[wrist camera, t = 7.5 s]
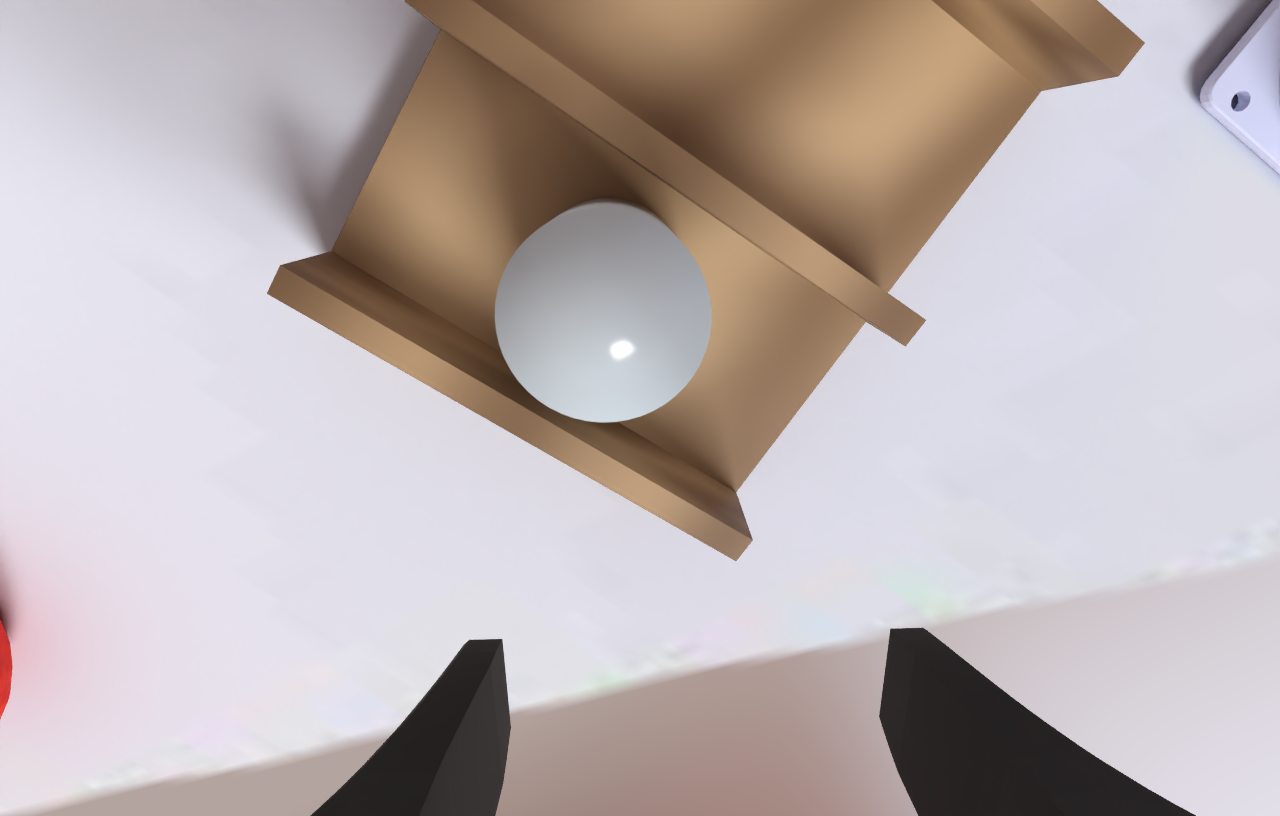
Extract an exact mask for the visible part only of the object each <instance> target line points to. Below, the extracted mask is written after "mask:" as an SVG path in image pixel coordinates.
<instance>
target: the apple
mask: <svg viewBox="0 0 1280 816" xmlns="http://www.w3.org/2000/svg"><path fill="white" fill-rule="evenodd" d="M11 677H12V657H11V648H10V642H9V639H8V636H7V633H6V631H5V629H4V627H3V625H2V622H1V620H0V719H1V716H2V714H3V712H4V709H5V707H6V704H7V702H8V699H9V695H10V689H11Z"/></svg>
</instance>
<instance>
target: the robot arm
mask: <svg viewBox="0 0 1280 816" xmlns="http://www.w3.org/2000/svg"><path fill="white" fill-rule="evenodd" d="M1235 94H1236V95H1237V96H1238V104H1237V106H1236V107H1235V109H1232V107H1231V100H1232V98H1233V97H1234V95H1235ZM1200 101H1201V104H1202V105H1203V107H1204V108H1205V109H1206V110H1207V111H1208V112H1209V113H1210V114H1212V115H1213V116H1214V117H1215V118H1216V119H1217V120H1218V121H1220V122H1221V123H1222V124H1223V125H1224V126H1225V127H1226V128H1228V129H1229V130H1230V131H1231V132H1232V133H1233V134H1234V135H1236V136H1237V137H1238V138H1239V139H1240V140H1241V141H1242V142H1243V143H1245V144H1246V145H1247V146H1248V147H1249V148H1250V149H1251V150H1253V151H1254V152H1255V153H1256V154H1257V155H1258V156H1259V157H1261V158H1262V159H1263V160H1264V161H1265V162H1266V163H1267V164H1269V165H1270V166H1271V167H1272V168H1273V169H1274V170H1275V171H1276V172H1278V173H1279V174H1280V0H1272V2H1271V3H1270V4H1269V5H1268V6H1267V8H1266V9H1265V10H1264V11H1263V12H1262V14H1261V15H1260V16H1259V17H1258V18H1257V20H1256V21H1255V22H1254V23H1253V25H1252V26H1251V27H1250V28H1249V29H1248V31H1247V32H1246V33H1245V34H1244V35H1243V37H1242V38H1241V39H1240V40H1239V41H1238V43H1237V44H1236V45H1235V46H1234V48H1233V49H1232V50H1231V51H1230V52H1229V54H1228V55H1227V56H1226V57H1225V58H1224V60H1223V61H1222V62H1221V63H1220V64H1219V66H1218V67H1217V68H1216V69H1215V70H1214V72H1213V73H1212V74H1211V75H1210V77H1209V78H1208V79H1207V80H1206V82H1205V83H1204V85H1203V87H1202V88H1201V93H1200ZM879 717H880V720H881V723H882V727H883V730H884V733H885V736H886V739H887V742H888V745H889V748H890V751H891V754H892V757H893V759H894V762H895V765H896V768H897V770H898V773H899V775H900V777H901V779H902V782H903V784H904V786H905V788H906V790H907V792H908V795H909V797H910V799H911V801H912V803H913V805H914V807H915V809H916V811H917V814H918V816H1196V815H1194V814H1192V813H1190V812H1188V811H1186V810H1184V809H1183V808H1181V807H1179V806H1177V805H1175V804H1173V803H1171V802H1170V801H1168V800H1166V799H1164V798H1163V797H1161V796H1159V795H1158V794H1156V793H1154V792H1152V791H1151V790H1149V789H1147V788H1145V787H1144V786H1142V785H1141V784H1139V783H1137V782H1136V781H1134V780H1132V779H1131V778H1129V777H1128V776H1126V775H1124V774H1123V773H1121V772H1119V771H1118V770H1116V769H1115V768H1113V767H1111V766H1110V765H1108V764H1106V763H1105V762H1103V761H1102V760H1100V759H1099V758H1097V757H1095V756H1094V755H1092V754H1091V753H1089V752H1088V751H1086V750H1085V749H1083V748H1082V747H1080V746H1079V745H1077V744H1076V743H1075V742H1073V741H1072V740H1070V739H1069V738H1067V737H1066V736H1064V735H1063V734H1062V733H1060V732H1059V731H1057V730H1056V729H1054V728H1053V727H1051V726H1050V725H1049V724H1047V723H1046V722H1044V721H1043V720H1042V719H1040V718H1039V717H1038V716H1036V715H1035V714H1033V713H1032V712H1031V711H1029V710H1028V709H1027V708H1025V707H1024V706H1023V705H1021V704H1020V703H1019V702H1017V701H1016V700H1015V699H1013V698H1012V697H1011V696H1009V695H1008V694H1007V693H1006V692H1004V691H1003V690H1002V689H1000V688H999V687H998V686H997V685H995V684H994V683H993V682H991V681H990V680H989V679H988V678H986V677H985V676H984V675H982V674H981V673H980V672H979V671H978V670H976V669H975V668H974V667H973V666H971V665H970V664H969V663H968V662H966V661H965V660H964V659H962V658H961V657H960V656H959V655H958V654H956V653H955V652H954V651H952V650H951V649H950V648H949V647H947V646H946V645H945V644H944V643H942V642H941V641H940V640H939V639H937V638H936V637H935V636H933V635H932V634H931V633H929V632H928V631H927V630H925V629H924V628H902V629H890V637H889V645H888V653H887V660H886V668H885V676H884V684H883V692H882V700H881V708H880V715H879ZM510 729H511V725H510V714H509V704H508V694H507V683H506V673H505V663H504V652H503V642H502V639H488V640H469V641H468V642H467V643H466V644H465V645H463V647H462V648H461V649H460V651H459V652H458V653H457V655H456V656H455V657H454V659H453V660H452V661H451V663H450V664H449V665H448V667H447V668H446V669H445V671H444V672H443V673H442V675H441V676H440V677H439V678H438V680H437V681H436V682H435V684H434V685H433V686H432V687H431V689H430V690H429V691H428V692H427V694H426V695H425V696H424V697H423V698H422V700H421V701H420V702H419V703H418V704H417V706H416V707H415V708H414V709H413V710H412V712H411V713H410V714H409V715H408V716H407V718H406V719H405V720H404V721H403V722H402V724H401V725H400V726H399V727H398V728H397V729H396V730H395V732H394V733H393V734H392V735H391V736H390V737H389V738H388V739H387V740H386V741H385V742H384V743H383V745H382V746H381V747H380V748H379V749H378V750H377V751H376V752H375V753H374V755H372V757H371V758H370V759H369V760H368V761H367V762H366V763H365V764H364V765H363V766H362V767H361V768H360V769H359V770H358V771H357V772H356V773H355V774H354V775H353V776H352V777H351V778H350V779H349V780H348V781H347V782H346V783H345V784H344V785H343V786H342V787H341V788H340V789H339V790H338V791H337V792H336V793H335V794H334V795H332V796H331V797H330V798H329V799H328V800H327V801H326V802H325V803H324V804H323V805H322V806H321V807H320V808H319V809H317V810H316V811H315V812H314V813H313V814H312V815H311V816H495V814H496V810H497V806H498V802H499V798H500V794H501V790H502V786H503V780H504V773H505V766H506V760H507V752H508V744H509V737H510Z"/></svg>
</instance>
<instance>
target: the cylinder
mask: <svg viewBox="0 0 1280 816" xmlns="http://www.w3.org/2000/svg"><path fill="white" fill-rule="evenodd" d="M711 313H712V311H711V303H710V296H709V292H708V288H707V284H706V281H705V279H704V276H703V274H702V272H701V269H700V268H699V266H698V264H697V262H696V261H695V259H694V257H693V256H692V255H691V253H690V252H689V251H688V249H687V248H686V247H685V246H684V244H683V243H682V242H681V241H680V240H679V238H678V237H677V236H676V235H675V234H674V233H673V231H672V230H671V229H670V228H669V227H668V226H667V224H666V223H665V222H664V221H663V220H662V219H661V218H660V217H659V216H657V215H656V214H655V213H653V212H652V211H651V210H649V209H647V208H646V207H644V206H642V205H640V204H638V203H635V202H633V201H629V200H625V199H621V198H612V197H607V198H596V199H590V200H587V201H583V202H580V203H578V204H576V205H574V206H572V207H570V208H568V209H567V210H565V211H564V212H562V213H561V214H559V215H558V216H556V217H555V218H554V219H552V220H551V221H549V222H548V223H546V224H545V225H543V226H542V227H540V228H539V229H537V230H536V231H535V232H534V233H533V234H532V235H530V236H529V237H528V238H527V239H526V240H525V241H524V242H523V243H522V244H521V245H520V247H519V248H518V249H517V250H516V251H515V253H514V254H513V256H512V257H511V259H510V261H509V262H508V264H507V266H506V268H505V270H504V272H503V274H502V277H501V280H500V283H499V287H498V290H497V296H496V302H495V325H496V333H497V337H498V342H499V346H500V348H501V351H502V354H503V356H504V359H505V361H506V362H507V364H508V366H509V368H510V370H511V371H512V373H513V374H514V376H515V377H516V379H517V380H518V381H519V382H520V384H521V385H522V386H523V387H524V388H525V389H526V390H527V391H528V392H529V393H530V394H531V395H532V396H534V397H535V398H536V399H537V400H538V401H540V402H541V403H543V404H544V405H546V406H547V407H549V408H551V409H553V410H555V411H557V412H559V413H561V414H563V415H566V416H569V417H572V418H575V419H580V420H584V421H590V422H618V421H625V420H630V419H633V418H637V417H640V416H643V415H645V414H648V413H650V412H652V411H654V410H656V409H658V408H659V407H661V406H663V405H665V404H666V403H667V402H669V401H670V400H671V399H672V398H674V397H675V396H676V395H677V394H678V393H679V392H680V391H681V390H682V389H683V388H684V387H685V386H686V385H687V384H688V382H689V381H690V380H691V378H692V377H693V376H694V374H695V373H696V371H697V369H698V367H699V366H700V364H701V362H702V359H703V357H704V355H705V352H706V349H707V345H708V342H709V338H710V331H711Z"/></svg>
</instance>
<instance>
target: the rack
mask: <svg viewBox="0 0 1280 816" xmlns="http://www.w3.org/2000/svg"><path fill="white" fill-rule="evenodd" d="M405 2H406V3H407V4H409V5H410V6H411V7H413V8H414V9H415V10H416V11H418V12H419V13H420V14H422V15H423V16H424V17H425V18H427V19H428V20H429V21H431V22H432V23H433V24H435V25H436V26H437V27H438V28H440V29H441V30H440V32H439V34H438V36H437V38H436V40H435V42H434V44H433V46H432V48H431V50H430V52H429V54H428V56H427V58H426V60H425V62H424V64H423V66H422V68H421V70H420V73H419V75H418V77H417V79H416V81H415V83H414V85H413V87H412V89H411V91H410V93H409V95H408V97H407V99H406V101H405V103H404V105H403V107H402V109H401V111H400V113H399V115H398V117H397V119H396V121H395V123H394V125H393V127H392V129H391V131H390V133H389V135H388V137H387V139H386V141H385V144H384V146H383V148H382V150H381V152H380V154H379V156H378V158H377V160H376V162H375V164H374V166H373V168H372V170H371V172H370V174H369V176H368V178H367V180H366V182H365V184H364V186H363V188H362V190H361V192H360V194H359V196H358V198H357V200H356V202H355V204H354V206H353V208H352V210H351V212H350V215H349V217H348V219H347V221H346V223H345V225H344V227H343V229H342V231H341V233H340V235H339V237H338V239H337V241H336V243H335V245H334V247H333V249H332V251H331V252H327V253H324V254H320V255H316V256H313V257H309V258H305V259H302V260H298V261H294V262H291V263H287V264H283V265H280V267H279V269H278V271H277V273H276V275H275V277H274V280H273V282H272V284H271V286H270V288H269V290H268V292H267V294H269V295H270V296H272V297H274V298H276V299H277V300H279V301H281V302H283V303H284V304H286V305H288V306H290V307H291V308H293V309H295V310H297V311H298V312H300V313H302V314H304V315H305V316H307V317H309V318H311V319H312V320H314V321H316V322H318V323H319V324H321V325H323V326H325V327H326V328H328V329H330V330H332V331H333V332H335V333H337V334H339V335H340V336H342V337H344V338H346V339H347V340H349V341H351V342H353V343H354V344H356V345H358V346H360V347H361V348H363V349H365V350H367V351H368V352H370V353H372V354H374V355H375V356H377V357H379V358H381V359H382V360H384V361H386V362H388V363H389V364H391V365H393V366H395V367H397V368H398V369H400V370H402V371H404V372H405V373H407V374H409V375H411V376H412V377H414V378H416V379H418V380H419V381H421V382H423V383H425V384H426V385H428V386H430V387H432V388H433V389H435V390H437V391H439V392H440V393H442V394H444V395H446V396H447V397H449V398H451V399H453V400H454V401H456V402H458V403H460V404H461V405H463V406H465V407H467V408H468V409H470V410H472V411H474V412H475V413H477V414H479V415H481V416H482V417H484V418H486V419H488V420H489V421H491V422H493V423H495V424H496V425H498V426H500V427H502V428H503V429H505V430H507V431H509V432H510V433H512V434H514V435H516V436H517V437H519V438H521V439H523V440H524V441H526V442H528V443H530V444H531V445H533V446H535V447H537V448H538V449H540V450H542V451H544V452H546V453H547V454H549V455H551V456H553V457H554V458H556V459H558V460H560V461H561V462H563V463H565V464H567V465H568V466H570V467H572V468H574V469H575V470H577V471H579V472H581V473H582V474H584V475H586V476H588V477H589V478H591V479H593V480H595V481H596V482H598V483H600V484H602V485H603V486H605V487H607V488H609V489H610V490H612V491H614V492H616V493H617V494H619V495H621V496H623V497H624V498H626V499H628V500H630V501H631V502H633V503H635V504H637V505H638V506H640V507H642V508H644V509H645V510H647V511H649V512H651V513H652V514H654V515H656V516H658V517H659V518H661V519H663V520H665V521H666V522H668V523H670V524H672V525H673V526H675V527H677V528H679V529H680V530H682V531H684V532H686V533H687V534H689V535H691V536H693V537H695V538H696V539H698V540H700V541H702V542H703V543H705V544H707V545H709V546H710V547H712V548H714V549H716V550H717V551H719V552H721V553H723V554H724V555H726V556H728V557H730V558H731V559H733V560H735V561H737V559H738V558H739V557H740V556H741V554H742V553H743V552H744V550H745V549H746V548H747V547H748V545H749V544H750V543H751V542H752V537H751V534H750V531H749V528H748V525H747V522H746V519H745V517H744V514H743V511H742V508H741V505H740V502H739V499H738V496H737V494H736V492H737V490H738V489H739V488H740V486H741V485H742V484H743V482H744V481H745V480H746V478H747V477H748V476H749V474H750V473H751V472H752V471H753V469H754V468H755V467H756V465H757V464H758V463H759V461H760V460H761V459H762V457H763V456H764V455H765V453H766V452H767V451H768V450H769V448H770V447H771V446H772V444H773V443H774V442H775V440H776V439H777V438H778V436H779V435H780V434H781V432H782V431H783V430H784V428H785V427H786V426H787V425H788V423H789V422H790V421H791V419H792V418H793V417H794V415H795V414H796V413H797V411H798V410H799V409H800V407H801V406H802V405H803V404H804V402H805V401H806V400H807V398H808V397H809V396H810V394H811V393H812V392H813V390H814V389H815V388H816V386H817V385H818V384H819V382H820V381H821V380H822V379H823V377H824V376H825V375H826V373H827V372H828V371H829V369H830V368H831V367H832V365H833V364H834V363H835V361H836V360H837V359H838V357H839V356H840V355H841V354H842V352H843V351H844V350H845V348H846V347H847V346H848V344H849V343H850V342H851V340H852V339H853V338H854V336H855V335H856V334H857V333H858V331H859V330H860V329H861V327H862V326H863V325H864V323H865V322H867V323H869V324H870V325H872V326H874V327H875V328H877V329H878V330H880V331H882V332H883V333H885V334H887V335H888V336H890V337H891V338H893V339H895V340H896V341H898V342H899V343H901V344H903V345H904V346H906V345H907V344H908V343H909V341H910V340H911V339H912V337H913V336H914V335H915V334H916V332H917V331H918V330H919V329H920V327H921V326H922V325H923V324H924V322H925V321H926V320H925V319H924V318H922V317H921V316H920V315H918V314H917V313H915V312H914V311H912V310H911V309H910V308H908V307H907V306H905V305H904V304H903V303H901V302H900V301H898V300H897V299H895V298H894V297H893V296H891V295H890V294H888V292H889V290H890V289H891V288H892V287H893V285H894V284H895V283H896V281H897V280H898V279H899V277H900V276H901V275H902V273H903V272H904V271H905V269H906V268H907V267H908V265H909V264H910V263H911V262H912V260H913V259H914V258H915V256H916V255H917V254H918V252H919V251H920V250H921V248H922V247H923V246H924V244H925V243H926V242H927V241H928V239H929V238H930V237H931V235H932V234H933V233H934V231H935V230H936V229H937V227H938V226H939V225H940V223H941V222H942V221H943V219H944V218H945V217H946V216H947V214H948V213H949V212H950V210H951V209H952V208H953V206H954V205H955V204H956V202H957V201H958V200H959V198H960V197H961V196H962V195H963V193H964V192H965V191H966V189H967V188H968V187H969V185H970V184H971V183H972V181H973V180H974V179H975V177H976V176H977V175H978V173H979V172H980V171H981V170H982V168H983V167H984V166H985V164H986V163H987V162H988V160H989V159H990V158H991V156H992V155H993V154H994V152H995V151H996V150H997V148H998V147H999V146H1000V145H1001V143H1002V142H1003V141H1004V139H1005V138H1006V137H1007V135H1008V134H1009V133H1010V131H1011V130H1012V129H1013V127H1014V126H1015V125H1016V124H1017V122H1018V121H1019V120H1020V118H1021V117H1022V116H1023V114H1024V113H1025V112H1026V110H1027V109H1028V108H1029V106H1030V105H1031V104H1032V102H1033V101H1034V100H1035V99H1036V97H1037V96H1038V95H1039V93H1040V92H1041V91H1044V90H1049V89H1055V88H1060V87H1065V86H1070V85H1075V84H1081V83H1086V82H1091V81H1096V80H1101V79H1107V78H1112V77H1117V76H1119V75H1120V74H1121V72H1122V71H1123V70H1124V69H1125V67H1126V66H1127V65H1128V64H1129V62H1130V61H1131V60H1132V59H1133V57H1134V56H1135V55H1136V53H1137V52H1138V51H1139V50H1140V48H1141V47H1142V46H1143V45H1144V43H1145V42H1143V41H1142V40H1141V39H1140V38H1139V37H1138V36H1137V35H1135V34H1134V33H1133V32H1132V31H1131V30H1130V29H1129V28H1128V27H1126V26H1125V25H1124V24H1123V23H1122V22H1121V21H1120V20H1119V19H1117V18H1116V17H1115V16H1114V15H1113V14H1112V13H1111V12H1109V11H1108V10H1107V9H1106V8H1105V7H1104V6H1103V5H1102V4H1100V3H1099V2H1098V1H1097V0H405ZM607 197H612V198H621V199H625V200H629V201H633V202H635V203H638V204H640V205H642V206H644V207H646V208H647V209H649V210H651V211H652V212H653V213H655V214H656V215H657V216H659V217H660V218H661V219H662V220H663V221H664V222H665V223H666V224H667V226H668V227H669V228H670V229H671V230H672V231H673V233H674V234H675V235H676V236H677V237H678V238H679V240H680V241H681V242H682V243H683V244H684V246H685V247H686V248H687V249H688V251H689V252H690V253H691V255H692V256H693V257H694V259H695V261H696V262H697V264H698V266H699V268H700V269H701V272H702V274H703V276H704V279H705V281H706V284H707V288H708V292H709V296H710V303H711V311H712V313H711V331H710V338H709V342H708V345H707V349H706V352H705V355H704V357H703V359H702V362H701V364H700V366H699V367H698V369H697V371H696V373H695V374H694V376H693V377H692V378H691V380H690V381H689V382H688V384H687V385H686V386H685V387H684V388H683V389H682V390H681V391H680V392H679V393H678V394H677V395H676V396H675V397H674V398H672V399H671V400H670V401H669V402H667V403H666V404H665V405H663V406H661V407H659V408H658V409H656V410H654V411H652V412H650V413H648V414H645V415H643V416H640V417H637V418H633V419H630V420H625V421H618V422H590V421H584V420H580V419H575V418H572V417H569V416H566V415H563V414H561V413H559V412H557V411H555V410H553V409H551V408H549V407H547V406H546V405H544V404H543V403H541V402H540V401H538V400H537V399H536V398H535V397H534V396H532V395H531V394H530V393H529V392H528V391H527V390H526V389H525V388H524V387H523V386H522V385H521V384H520V382H519V381H518V380H517V379H516V377H515V376H514V374H513V373H512V371H511V370H510V368H509V366H508V364H507V362H506V361H505V359H504V356H503V354H502V351H501V348H500V346H499V342H498V337H497V333H496V325H495V302H496V296H497V290H498V287H499V283H500V280H501V277H502V274H503V272H504V270H505V268H506V266H507V264H508V262H509V261H510V259H511V257H512V256H513V254H514V253H515V251H516V250H517V249H518V248H519V247H520V245H521V244H522V243H523V242H524V241H525V240H526V239H527V238H528V237H529V236H530V235H532V234H533V233H534V232H535V231H536V230H537V229H539V228H540V227H542V226H543V225H545V224H546V223H548V222H549V221H551V220H552V219H554V218H555V217H556V216H558V215H559V214H561V213H562V212H564V211H565V210H567V209H568V208H570V207H572V206H574V205H576V204H578V203H580V202H583V201H587V200H590V199H596V198H607Z"/></svg>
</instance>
